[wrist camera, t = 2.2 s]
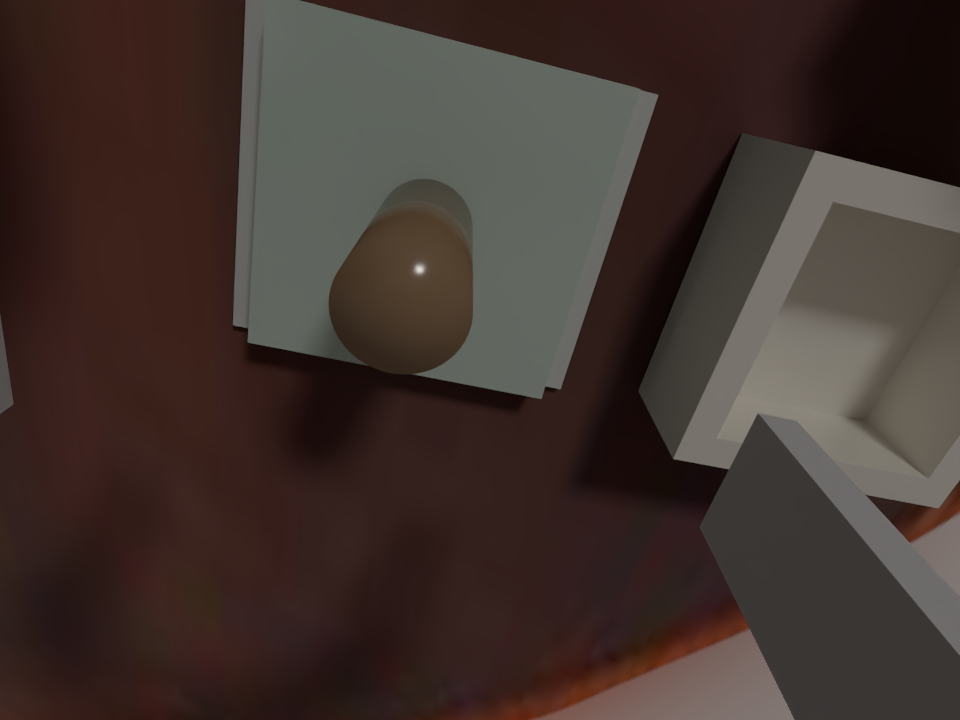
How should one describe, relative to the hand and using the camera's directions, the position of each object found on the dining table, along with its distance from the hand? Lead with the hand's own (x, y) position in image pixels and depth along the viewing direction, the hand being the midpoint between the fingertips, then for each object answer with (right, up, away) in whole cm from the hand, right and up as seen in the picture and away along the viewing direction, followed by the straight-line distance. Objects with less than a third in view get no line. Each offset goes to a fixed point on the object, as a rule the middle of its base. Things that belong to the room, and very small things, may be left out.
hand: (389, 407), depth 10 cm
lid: (0, +6, +12) cm, 13 cm away
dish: (+15, +3, +14) cm, 21 cm away
